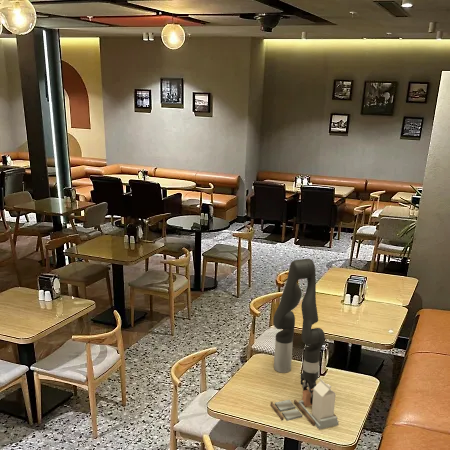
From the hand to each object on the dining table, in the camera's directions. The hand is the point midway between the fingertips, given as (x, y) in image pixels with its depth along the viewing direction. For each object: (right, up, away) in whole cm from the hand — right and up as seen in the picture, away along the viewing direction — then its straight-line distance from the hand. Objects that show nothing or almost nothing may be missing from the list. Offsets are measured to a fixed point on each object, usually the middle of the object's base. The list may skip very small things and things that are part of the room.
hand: (308, 399), depth 231 cm
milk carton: (+4, -6, -11) cm, 13 cm away
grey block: (+3, -5, -7) cm, 9 cm away
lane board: (-4, -4, -6) cm, 8 cm away
